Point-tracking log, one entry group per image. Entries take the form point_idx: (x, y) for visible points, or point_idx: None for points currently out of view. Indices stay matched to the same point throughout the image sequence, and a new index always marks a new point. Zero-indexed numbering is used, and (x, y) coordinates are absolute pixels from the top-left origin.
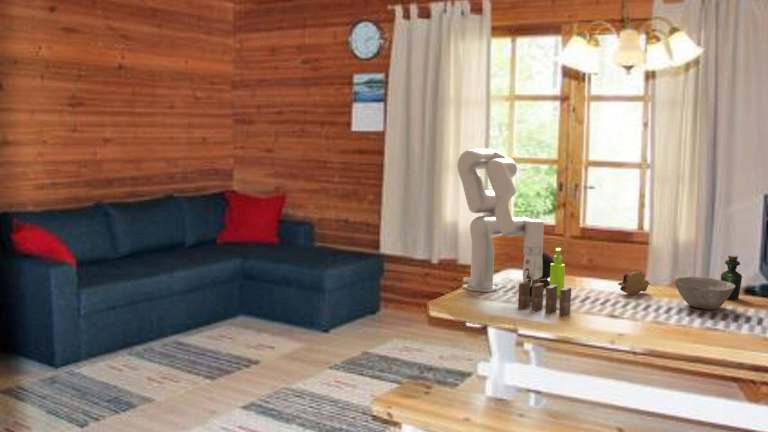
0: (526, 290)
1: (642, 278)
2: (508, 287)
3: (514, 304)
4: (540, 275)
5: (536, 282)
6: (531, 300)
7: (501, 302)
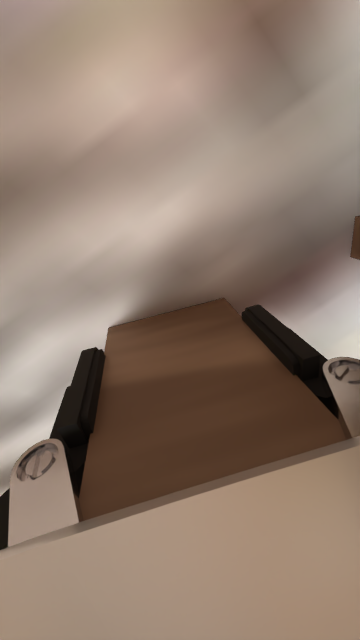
0: None
1: None
2: None
3: (345, 322)
4: (68, 617)
5: (99, 456)
6: (204, 307)
7: None
